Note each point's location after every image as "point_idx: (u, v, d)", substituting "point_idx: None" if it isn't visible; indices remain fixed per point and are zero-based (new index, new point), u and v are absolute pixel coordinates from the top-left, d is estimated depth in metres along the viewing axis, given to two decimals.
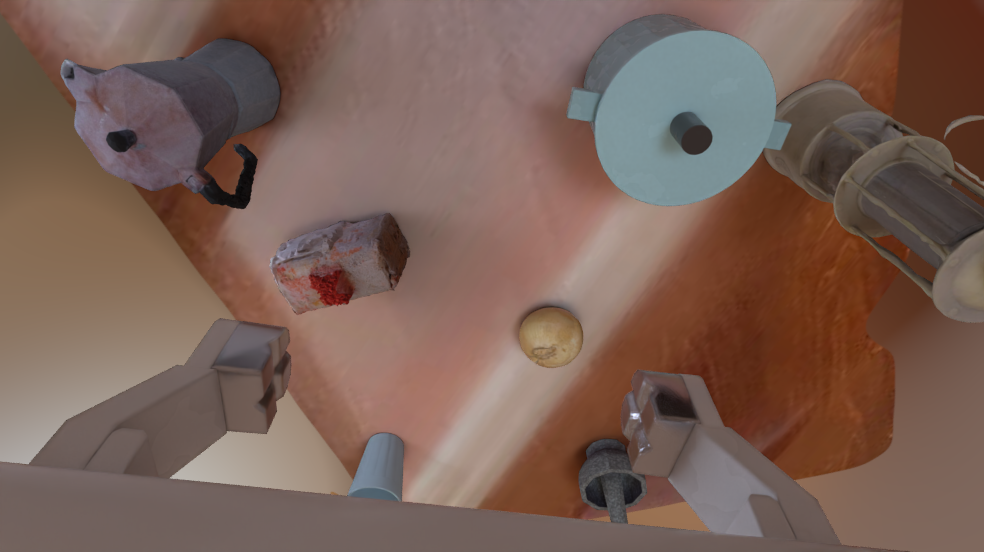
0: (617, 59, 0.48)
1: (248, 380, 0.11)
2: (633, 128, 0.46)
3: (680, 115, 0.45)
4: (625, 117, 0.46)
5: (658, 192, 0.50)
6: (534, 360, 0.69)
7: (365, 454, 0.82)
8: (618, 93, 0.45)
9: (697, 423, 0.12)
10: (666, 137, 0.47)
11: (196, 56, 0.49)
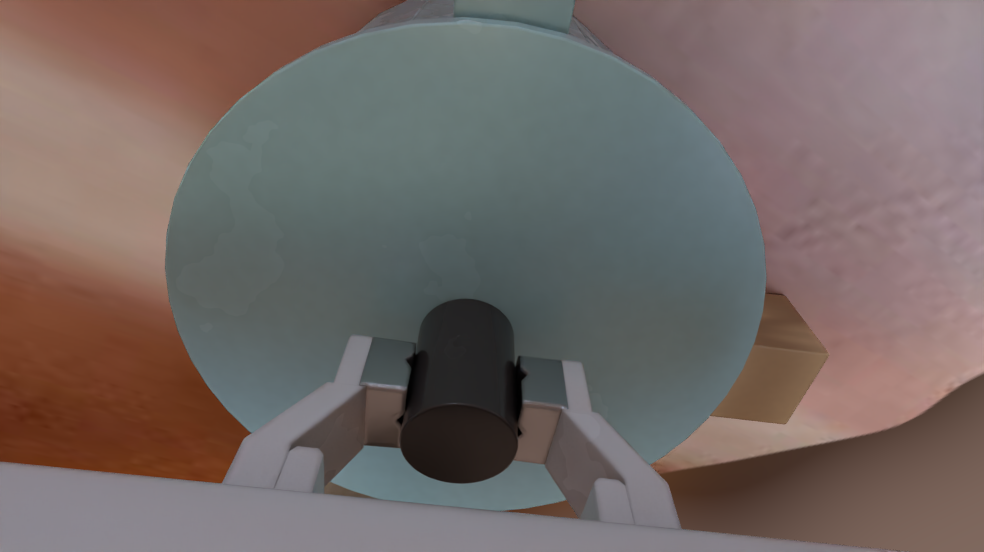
0: None
1: (393, 396, 0.11)
2: (451, 183, 0.12)
3: (507, 328, 0.13)
4: (494, 148, 0.11)
5: (220, 296, 0.14)
6: None
7: None
8: (593, 107, 0.11)
9: (564, 408, 0.11)
10: (424, 294, 0.13)
11: None
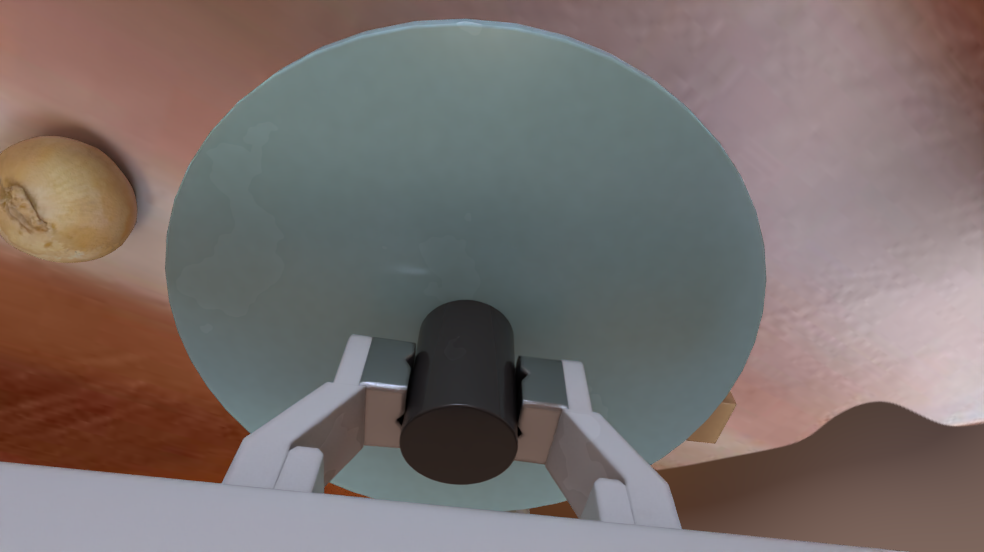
0: None
1: (393, 396, 0.11)
2: (451, 184, 0.12)
3: (507, 329, 0.13)
4: (494, 149, 0.11)
5: (219, 297, 0.14)
6: None
7: None
8: (592, 109, 0.11)
9: (564, 408, 0.11)
10: (424, 295, 0.13)
11: None
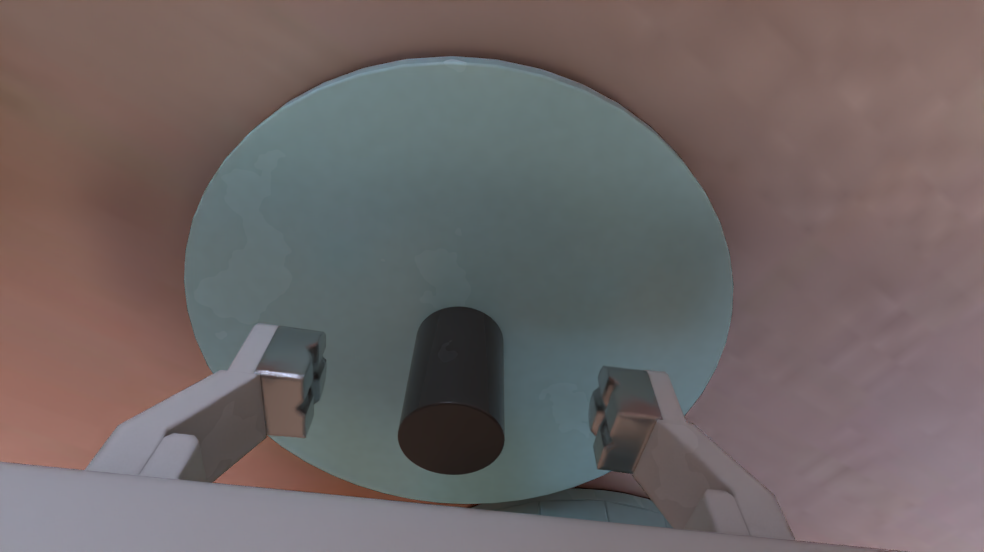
0: None
1: (290, 385, 0.11)
2: (442, 203, 0.13)
3: (496, 333, 0.15)
4: (480, 171, 0.13)
5: (233, 307, 0.15)
6: None
7: None
8: (568, 135, 0.12)
9: (659, 419, 0.11)
10: (420, 303, 0.15)
11: None
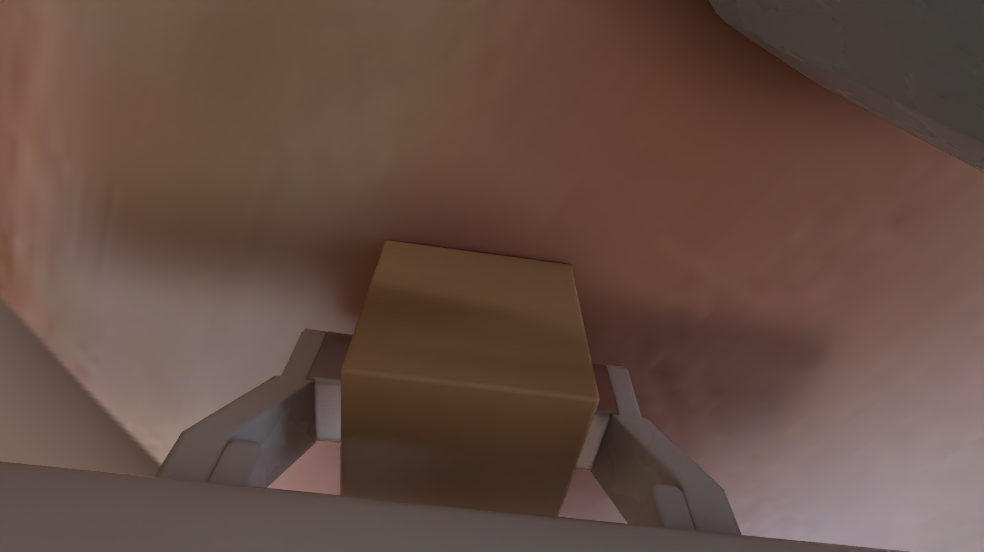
0: None
1: None
2: None
3: None
4: None
5: None
6: None
7: None
8: None
9: (614, 413, 0.11)
10: None
11: None
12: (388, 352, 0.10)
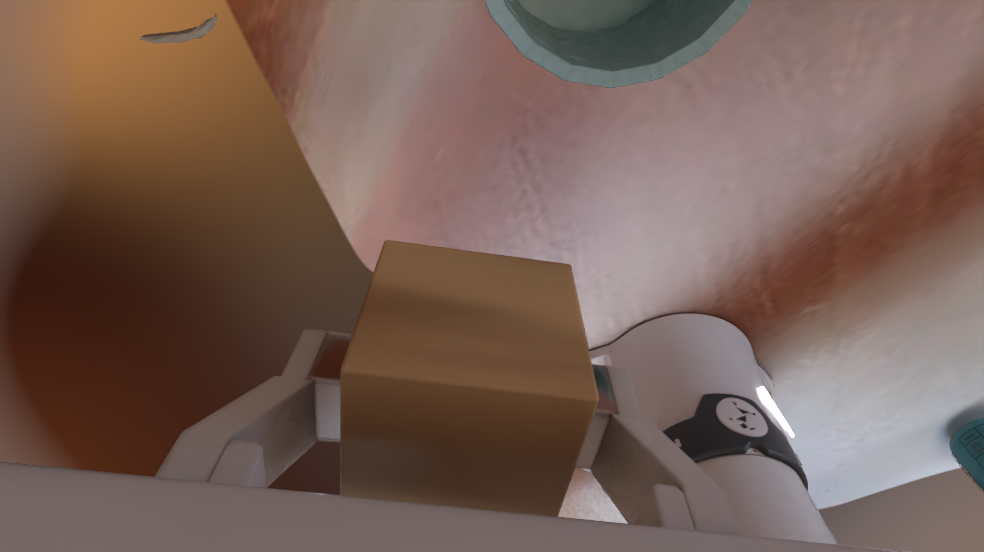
0: None
1: None
2: None
3: None
4: None
5: None
6: None
7: None
8: None
9: (614, 414, 0.11)
10: None
11: None
12: (387, 351, 0.10)
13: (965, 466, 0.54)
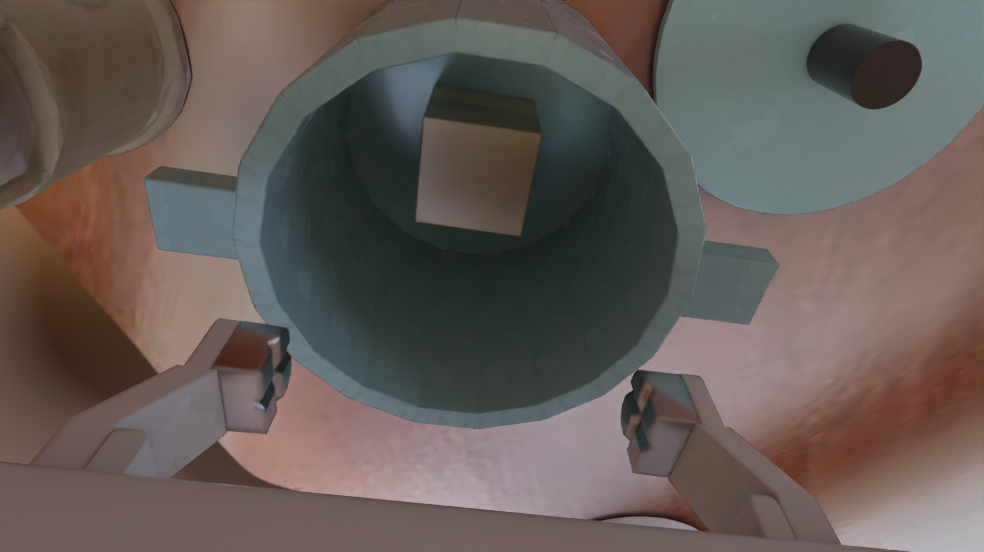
0: None
1: (248, 380, 0.11)
2: (941, 48, 0.23)
3: None
4: (951, 71, 0.23)
5: None
6: None
7: None
8: (950, 116, 0.24)
9: (697, 423, 0.12)
10: (876, 29, 0.22)
11: None
12: (443, 113, 0.21)
13: None
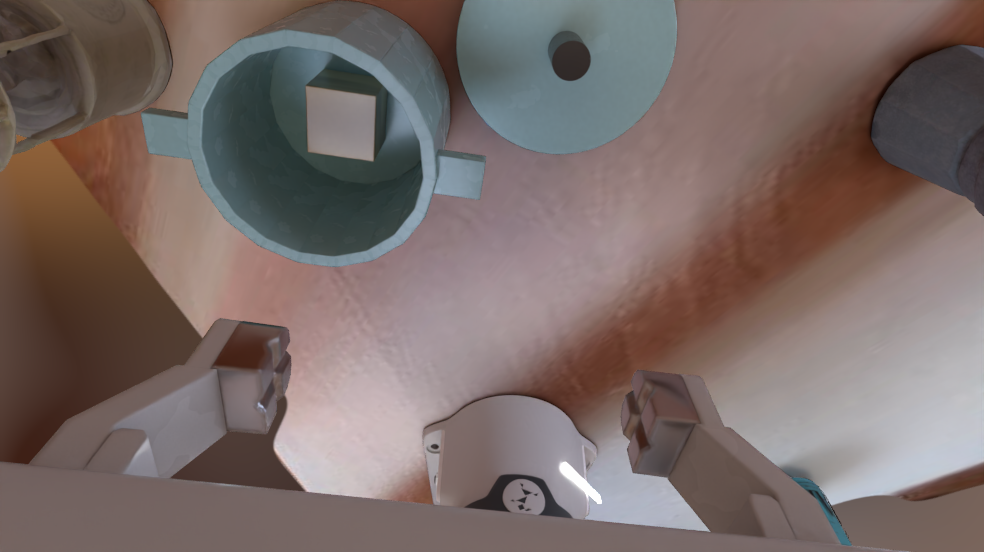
0: None
1: (248, 380, 0.11)
2: (628, 45, 0.37)
3: None
4: (638, 59, 0.38)
5: None
6: None
7: None
8: (646, 88, 0.39)
9: (697, 423, 0.12)
10: (585, 33, 0.37)
11: None
12: (318, 84, 0.36)
13: None
